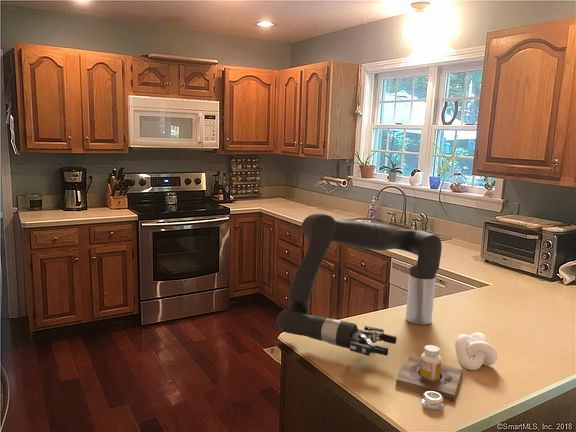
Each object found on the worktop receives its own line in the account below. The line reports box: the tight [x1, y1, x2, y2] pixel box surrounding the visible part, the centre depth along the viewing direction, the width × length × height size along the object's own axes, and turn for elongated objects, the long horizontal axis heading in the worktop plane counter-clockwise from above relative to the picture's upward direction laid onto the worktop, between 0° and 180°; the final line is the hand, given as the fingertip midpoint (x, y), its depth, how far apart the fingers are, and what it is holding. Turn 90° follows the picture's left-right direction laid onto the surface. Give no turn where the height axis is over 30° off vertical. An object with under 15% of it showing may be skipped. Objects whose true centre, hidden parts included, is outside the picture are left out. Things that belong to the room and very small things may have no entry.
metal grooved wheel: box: [421, 391, 445, 413], centre depth 115 cm, size 5×3×5 cm
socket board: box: [395, 355, 463, 403], centre depth 127 cm, size 15×15×2 cm
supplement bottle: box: [420, 344, 442, 380], centre depth 126 cm, size 5×5×10 cm
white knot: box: [454, 331, 498, 371], centre depth 136 cm, size 11×12×9 cm
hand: (392, 345), depth 131 cm, fingers open, 8 cm apart
